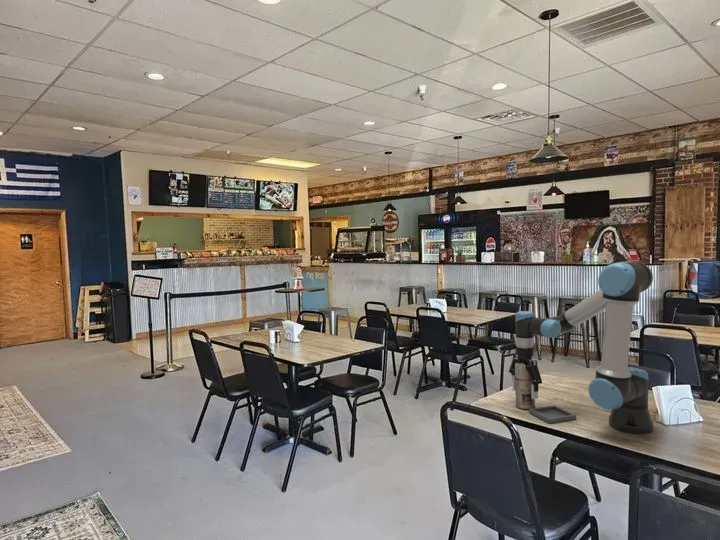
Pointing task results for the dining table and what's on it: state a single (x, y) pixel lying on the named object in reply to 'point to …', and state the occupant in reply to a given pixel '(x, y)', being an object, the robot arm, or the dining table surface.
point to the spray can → (523, 387)
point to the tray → (552, 414)
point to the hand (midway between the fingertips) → (524, 394)
